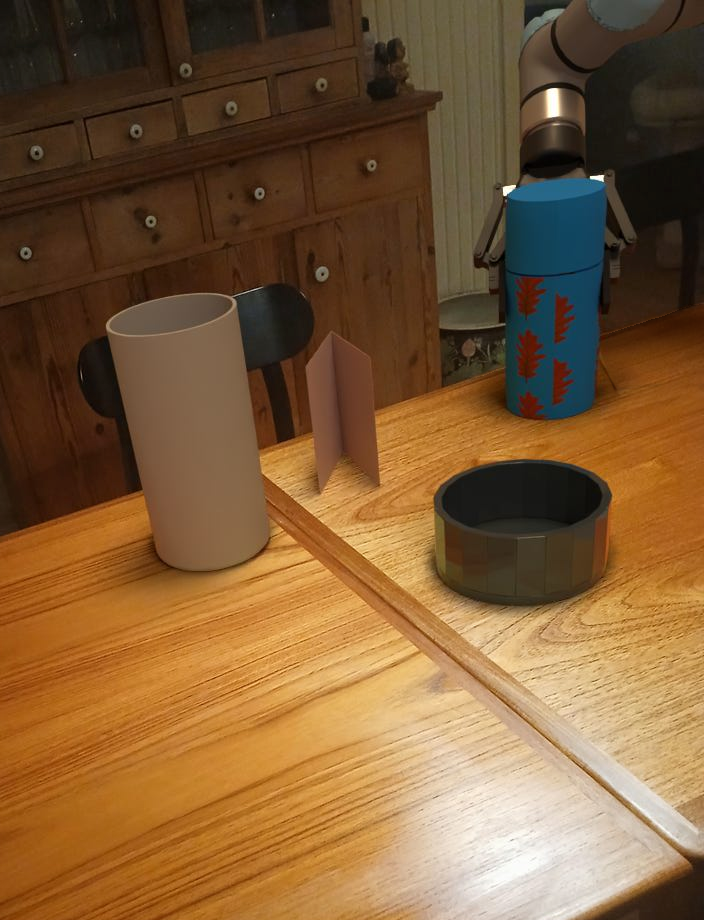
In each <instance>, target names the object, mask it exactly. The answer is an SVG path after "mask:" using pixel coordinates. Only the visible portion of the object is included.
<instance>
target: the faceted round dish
mask: <svg viewBox="0 0 704 920" xmlns="http://www.w3.org/2000/svg"><path fill="white" fill-rule="evenodd" d="M432 500H433V501H432V506H433V507H432V508H433V528H434V532H433V533H434V553H435V566H436V572H437V574H438V576H439V578H440V579H441V581H442V582H443V581H444V582H445V583H446V584H447V585H446V584H445V583H444V584H445V585H446V586H447V587H449V588H450V587H451V588H452V589H451V588H450V589H451V590H453V589H454V590H455V591H454V590H453V591H454V592H456V591H457V592H456V593H458V592H459V593H458V594H460V593H461V594H460V595H462V594H463V595H462V596H464V595H465V596H464V597H466V596H467V598H469V597H470V598H469V599H472V598H473V599H472V600H474V599H475V601H478V600H480V601H479V602H482V603H485V604H491V603H492V605H499V606H507V605H513V606H512V607H527V606H526V605H531V606H538V605H537V604H541V605H546V603H547V604H552V603H551V602H553V603H555V602H554V601H557V602H560V601H559V600H561V601H563V600H562V599H565V600H567V599H566V598H568V599H570V597H571V598H574V597H576V596H579V595H580V594H582V593H584V592H586V591H587V590H589V589H591V588H592V587H593V586H595V584H597V583H598V582H599V581H600V579H602V576H603V575H604V574H605V572H606V569H607V565H608V563H607V562H608V555H609V551H610V550H609V549H610V535H611V523H612V522H611V519H612V505H613V494H612V490H611V488H610V485H609V484H608V482H607V481H606V480H604V479H603V478H602V477H600V476H599V475H598V474H597V473H595V472H593V471H590V470H589V469H586V468H585V467H584V468H583V467H581V466H579V465H576V464H573V463H568V462H563V461H557V460H552V459H538V458H537V459H536V458H535V459H534V458H533V459H532V458H518V459H517V458H516V459H507V460H498V461H492V462H489V463H483V464H480V465H475V466H473V467H471V468H467V469H466V470H463V471H461V472H458V473H456V474H454V475H452V476H451V477H449V478H448V479H446V480H445V481H444V482H443V483H442V484H439V486H438V488H437V490H436V492H435V494H434V495H433V497H432ZM575 595H576V596H575ZM544 603H545V604H544Z"/></svg>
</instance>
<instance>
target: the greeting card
mask: <svg viewBox="0 0 704 920" xmlns="http://www.w3.org/2000/svg"><path fill="white" fill-rule="evenodd" d="M372 372H373V371H372V359H371V357H370V356H369V355H368V354H366V353H365V352H363V351H361V350H360V349H359V348H357V347H356V346H354V345H353V344H352V343H350V342H349V341H347V340H345V339H344V338H342V337H341V336H339V335H338V334H337V333H335V332H334V331H333V330H330V331H329V333H328V334H327V336H326V337H325V338H324V340H323V341H322V342H321V344H320V345H319V347H318V348H317V350H316V351H315V352H314V354H313V356H312V357H311V358H310V359H309V361H308V363H307V364H306V366H305V376H306V385H307V394H308V402H309V403H308V404H309V411H310V418H311V419H310V420H311V429H312V435H313V447H314V455H315V456H314V457H315V462H316V471H317V480H318V481H317V482H318V488H319V489H318V490H319V495H321V494H322V492H323V491H324V489H325V487H326V486H327V485H326V484H327V483H328V481H329V479H330V477H331V475H332V473H333V471H334V470H335V468H336V466H337V464H338V462H339V460H340V458H341V456H342V454H343V453H344V454H345V455H346V456H347V457H348V458H349V459H350V460H351V461H352V462H353V463H354V464H355V465H356V466H357V467H359V469H361V470H362V471H363V473H365V474H366V475H367V476H368V477H369V478H370V479H372V480H373V481H374V482H375V483H376V484H377V485H378V486H379V487H381V476H380V475H381V474H380V462H379V461H380V460H379V449H378V438H377V425H376V411H375V410H376V409H375V397H374V386H373V385H374V384H373V383H374V382H373V373H372ZM342 452H343V453H342Z"/></svg>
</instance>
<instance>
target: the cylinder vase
mask: <svg viewBox="0 0 704 920" xmlns="http://www.w3.org/2000/svg"><path fill="white" fill-rule="evenodd" d="M240 324H241V323H240V317H239V311H238V304H237V300H236V299H235V298H233V297H232V296H230V295H227V294H224V293H223V294H222V293H213V292H197V293H194V292H193V293H183V294H178V295H171V296H166V297H161V298H157V299H153V300H148V301H144V302H142V303H139V304H136V305H133V306H130V307H128V308H126V309H124V310H121V311H119V312H117V313H116V314H115V315H113V316H112V317H110V318H109V319H108V320H107V322H106V324H105V329H106V333H107V338H108V342H109V347H110V353H111V356H112V361H113V364H114V370H115V374H116V379H117V382H118V383H117V384H118V387H119V391H120V395H121V400H122V405H123V409H124V414H125V417H126V418H125V419H126V423H127V426H128V431H129V436H130V440H131V445H132V449H133V453H134V458H135V461H136V462H135V463H136V467H137V471H138V475H139V479H140V483H141V484H140V485H141V488H142V493H143V497H144V502H145V506H146V507H145V508H146V511H147V515H148V520H149V524H150V529H151V533H152V537H153V542H154V547H155V550H156V553H157V555H158V557H159V558H160V560H161V561H163V562H164V563H165V564H166V565H168V566H170V567H172V568H175V569H178V570H182V571H188V572H211V571H212V572H213V571H219V570H222V569H228V568H231V567H234V566H237V565H239V564H242V563H243V562H246V561H247V560H249V559H252V558H253V557H254V556H256V555H257V554H258V553H260V552H261V551H262V550H263V549H264V548H265V546H266V545H267V543H268V542H269V540H270V535H271V525H270V519H269V510H268V507H267V506H268V504H267V499H266V492H265V485H264V479H263V471H262V466H261V459H260V452H259V444H258V437H257V431H256V424H255V418H254V410H253V405H252V404H253V403H252V399H251V392H250V383H249V378H248V372H247V365H246V364H247V363H246V357H245V350H244V344H243V338H242V331H241V325H240Z"/></svg>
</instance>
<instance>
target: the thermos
mask: <svg viewBox="0 0 704 920" xmlns="http://www.w3.org/2000/svg"><path fill="white" fill-rule="evenodd" d="M606 208H607V197H606V185H605V183H604V182H603V181H600V180H597V179H587V178H569V179H557V180H549V181H543V182H537V183H533V184H529V185H524V186H521V187H519V188H516V189H513V190H512V191H510V192H509V193H508V194H507V202H506V208H505V231H506V235H505V323H504V327H505V328H504V362H505V363H504V376H505V377H504V379H505V395H506V396H505V397H506V409H507V410H508V411H509V412H510V413H511V414H513V415H516V416H518V417H521V418H524V419H525V418H526V419H531V420H558V419H565V418H566V419H567V418H570V417H574V416H576V415H580V414H582V413H584V412H587V410H590V409H591V408H592V406H593V405H594V403H595V397H596V387H597V379H598V368H599V367H598V366H599V351H600V350H599V349H600V334H601V333H600V332H601V331H600V330H601V316H602V315H601V296H602V278H603V262H604V260H603V258H604V244H605V226H607V223H606V222H607V212H606Z"/></svg>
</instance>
